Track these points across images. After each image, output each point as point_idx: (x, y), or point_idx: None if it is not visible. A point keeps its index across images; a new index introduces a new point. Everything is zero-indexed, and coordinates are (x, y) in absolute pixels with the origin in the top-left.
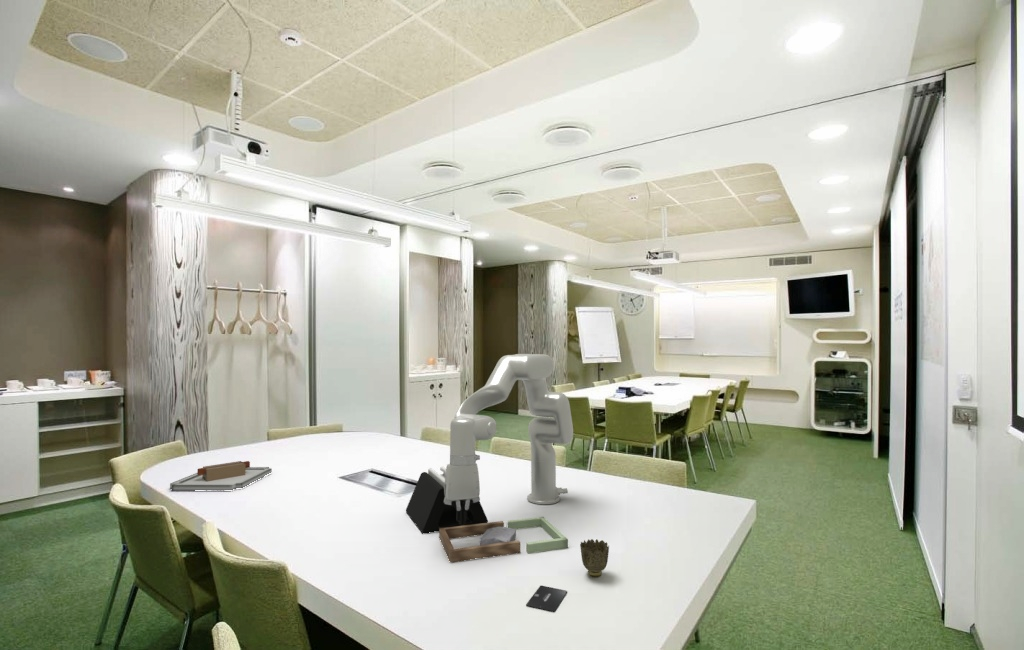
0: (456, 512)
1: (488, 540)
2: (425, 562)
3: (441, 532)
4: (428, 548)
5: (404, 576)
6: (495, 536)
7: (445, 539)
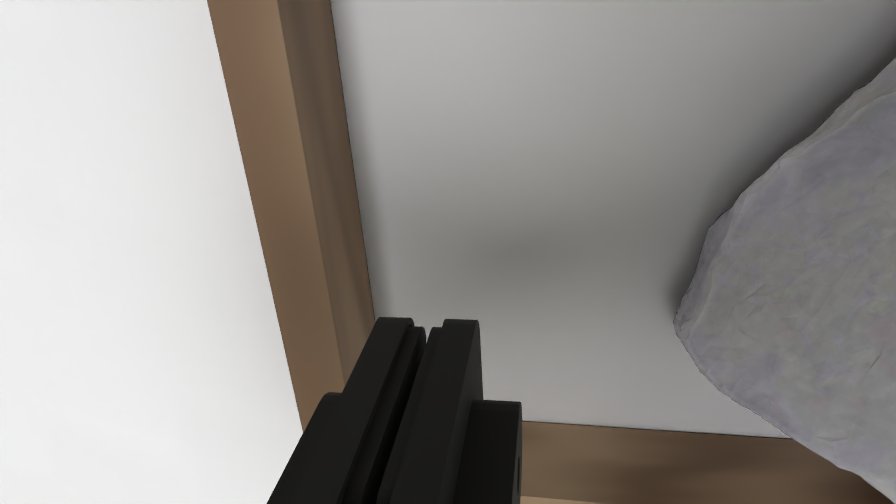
0: (280, 495)
1: (771, 422)
2: (169, 377)
3: (213, 12)
4: (151, 122)
5: (74, 494)
6: (888, 447)
7: (276, 257)
